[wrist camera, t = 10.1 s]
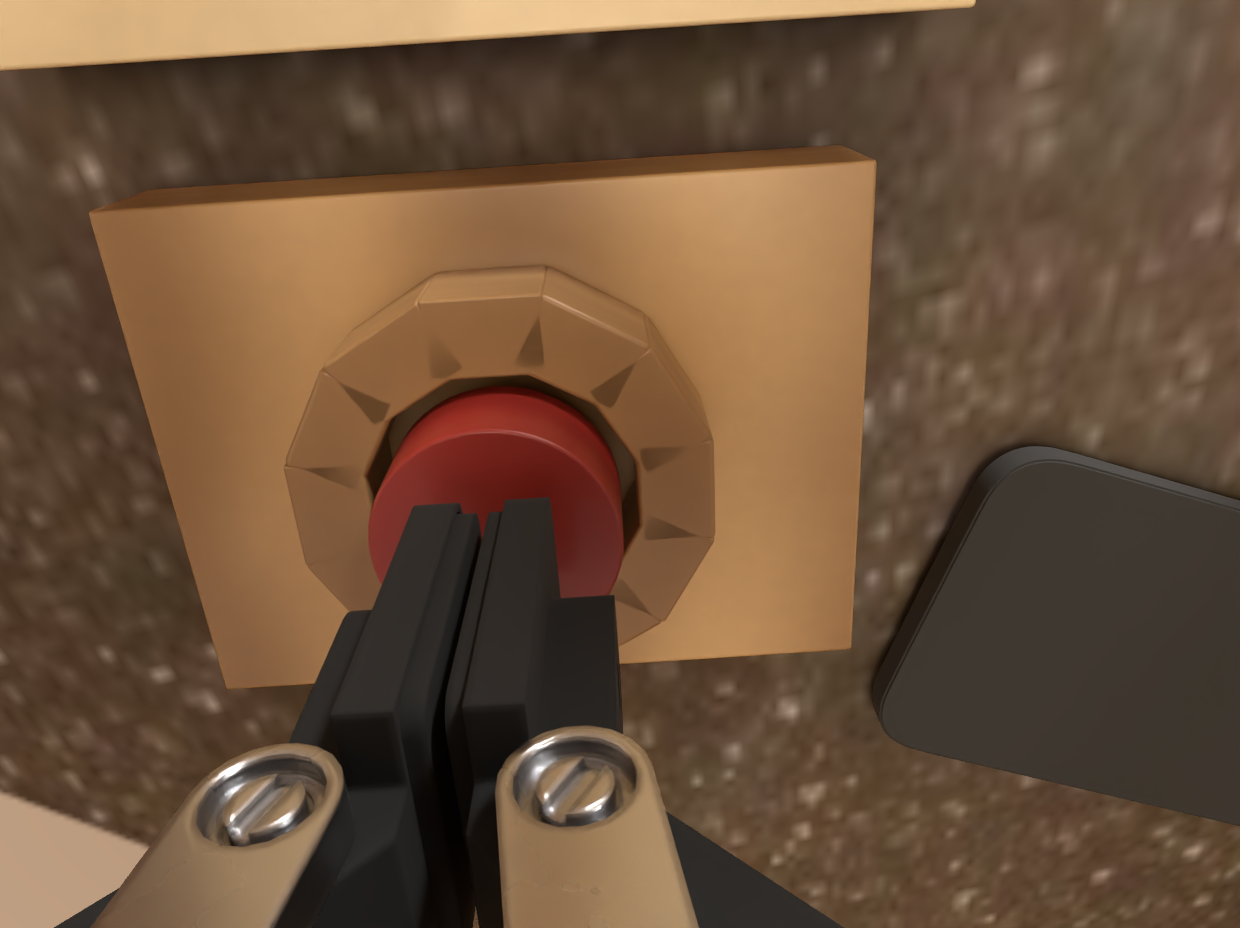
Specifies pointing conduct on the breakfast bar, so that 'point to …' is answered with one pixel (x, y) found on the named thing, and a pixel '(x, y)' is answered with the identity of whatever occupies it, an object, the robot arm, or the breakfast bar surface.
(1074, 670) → the phone
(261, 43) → the dial plate
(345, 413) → the wooden button base
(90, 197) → the breakfast bar surface
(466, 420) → the bell button
